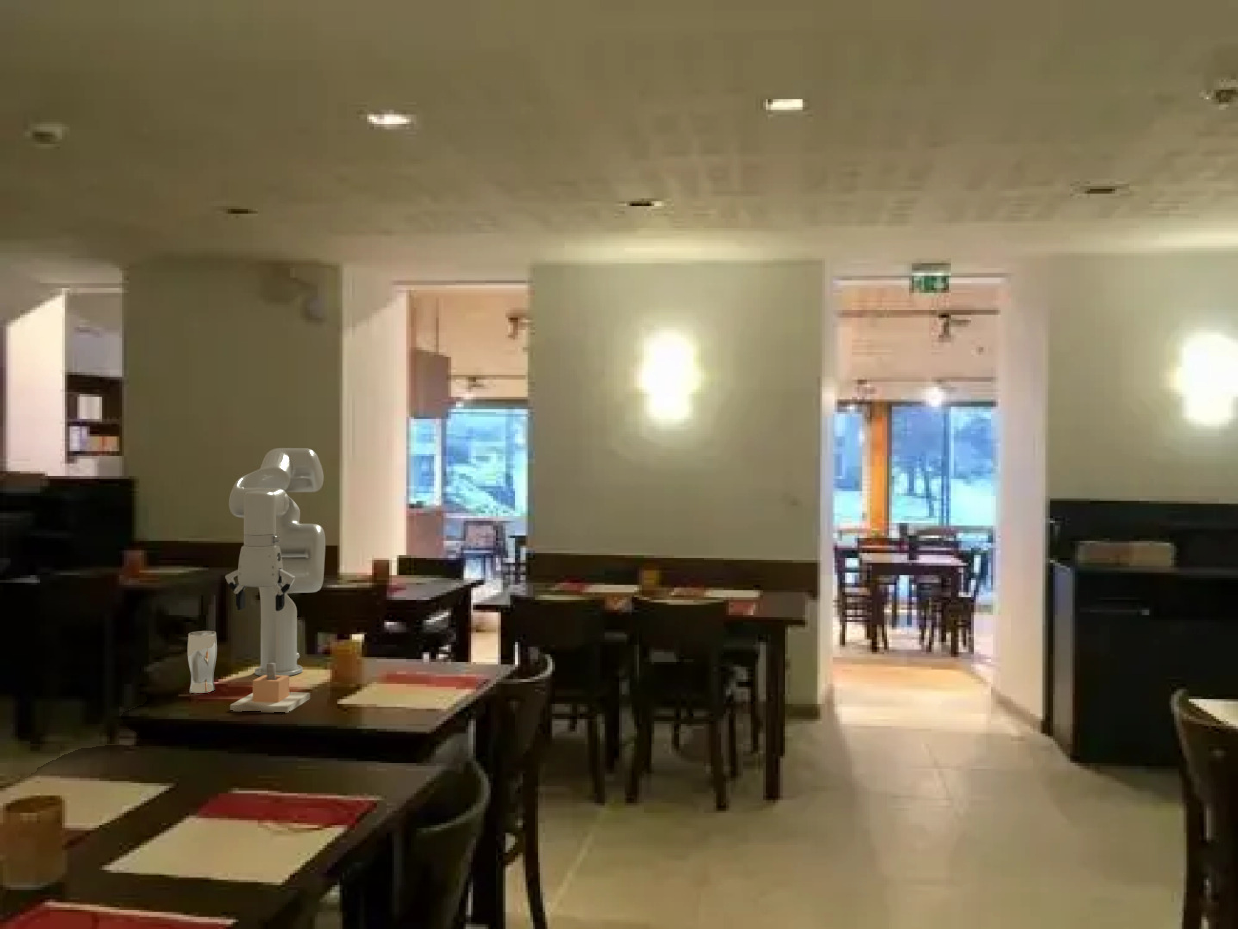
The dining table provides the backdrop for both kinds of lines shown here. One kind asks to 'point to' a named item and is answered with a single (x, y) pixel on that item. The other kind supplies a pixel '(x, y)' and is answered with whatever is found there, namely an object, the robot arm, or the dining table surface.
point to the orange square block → (270, 689)
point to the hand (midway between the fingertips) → (260, 609)
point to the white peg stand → (282, 706)
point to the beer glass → (202, 660)
